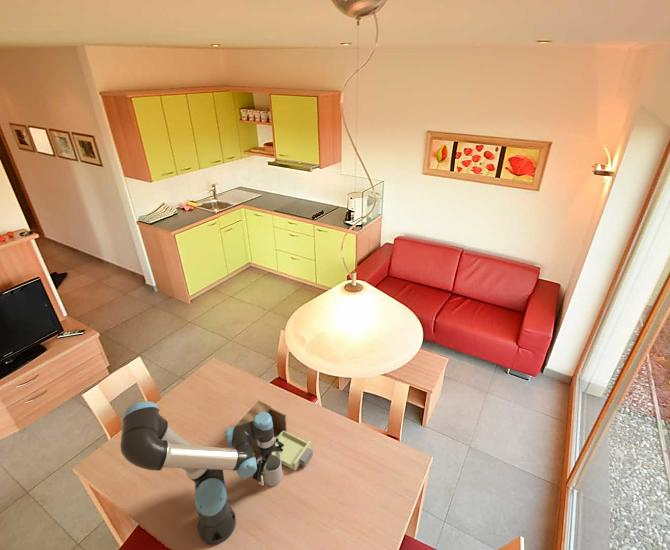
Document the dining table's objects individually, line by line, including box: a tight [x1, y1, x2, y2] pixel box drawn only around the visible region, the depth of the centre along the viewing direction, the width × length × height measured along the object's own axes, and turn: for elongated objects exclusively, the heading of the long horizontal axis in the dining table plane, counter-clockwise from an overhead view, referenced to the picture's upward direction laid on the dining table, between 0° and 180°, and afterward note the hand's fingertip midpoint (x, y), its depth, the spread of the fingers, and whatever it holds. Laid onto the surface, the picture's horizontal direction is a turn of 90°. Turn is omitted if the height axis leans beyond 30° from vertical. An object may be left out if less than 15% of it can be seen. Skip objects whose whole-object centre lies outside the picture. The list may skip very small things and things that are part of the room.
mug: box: [262, 455, 283, 487], centre depth 179 cm, size 12×8×11 cm
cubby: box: [236, 400, 288, 456], centre depth 195 cm, size 17×17×15 cm
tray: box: [271, 430, 314, 471], centre depth 190 cm, size 14×20×5 cm
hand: (270, 471), depth 180 cm, fingers open, 13 cm apart
